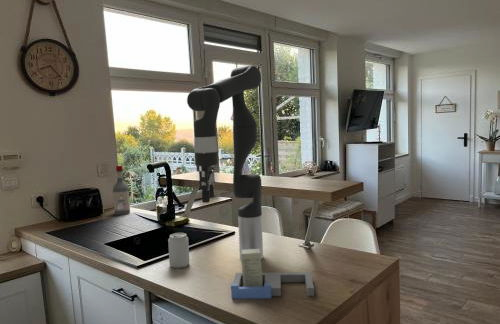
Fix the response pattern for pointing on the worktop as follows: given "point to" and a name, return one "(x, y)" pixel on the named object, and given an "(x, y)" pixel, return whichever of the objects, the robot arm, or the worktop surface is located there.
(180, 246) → the can
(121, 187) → the liquor
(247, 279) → the skincare box
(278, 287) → the rail
